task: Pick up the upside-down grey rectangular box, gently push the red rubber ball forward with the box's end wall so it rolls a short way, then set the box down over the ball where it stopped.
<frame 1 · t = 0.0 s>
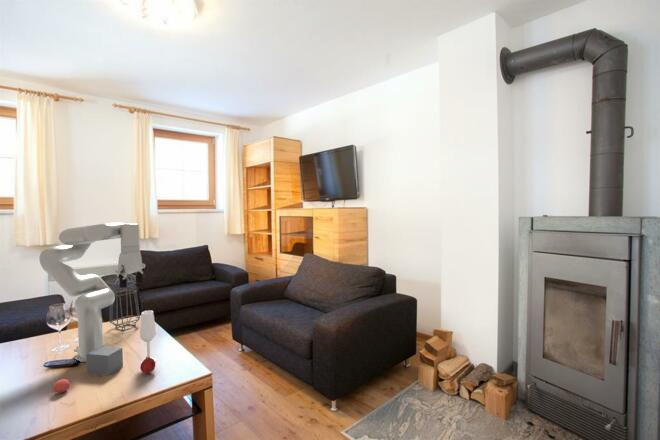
hand: (131, 284, 151), 37 cm above the table, tool pointing down, fingers open, 9 cm apart
ball: (61, 386, 126), on the table
geometric lantern: (124, 327, 194), on the table
grey rectangular box: (105, 369, 144), on the table
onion: (148, 374, 140), on the table
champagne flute: (148, 361, 151), on the table
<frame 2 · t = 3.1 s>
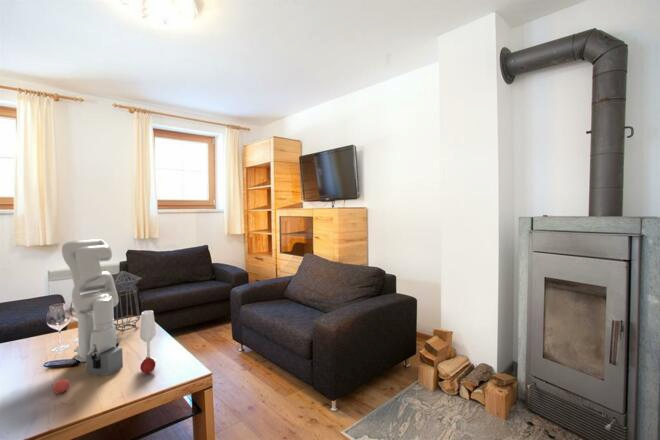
hand: (105, 363, 144), 3 cm above the table, tool pointing down, fingers closed on grey rectangular box, 7 cm apart
grey rectangular box: (105, 369, 144), on the table, touching gripper
everything else where it was.
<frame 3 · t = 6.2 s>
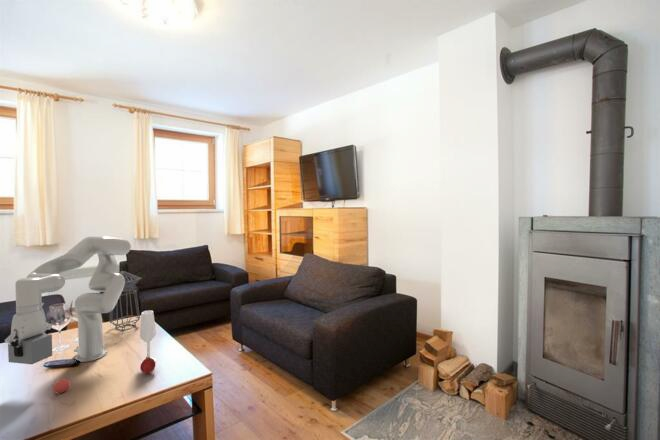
hand: (30, 351, 128), 16 cm above the table, tool pointing down, fingers closed on grey rectangular box, 7 cm apart
grey rectangular box: (30, 358, 128), point 13 cm above the table, touching gripper
everything else where it was.
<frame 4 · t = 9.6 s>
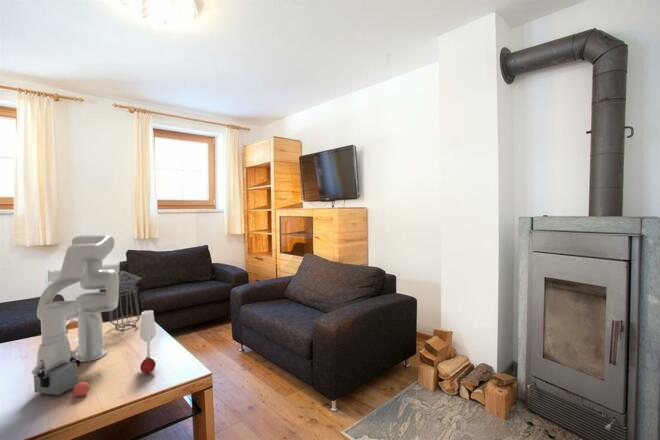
hand: (56, 380, 127), 4 cm above the table, tool pointing down, fingers closed on grey rectangular box, 7 cm apart
ball: (81, 389, 124), on the table
grey rectangular box: (56, 388, 127), point 1 cm above the table, touching gripper
everything else where it was.
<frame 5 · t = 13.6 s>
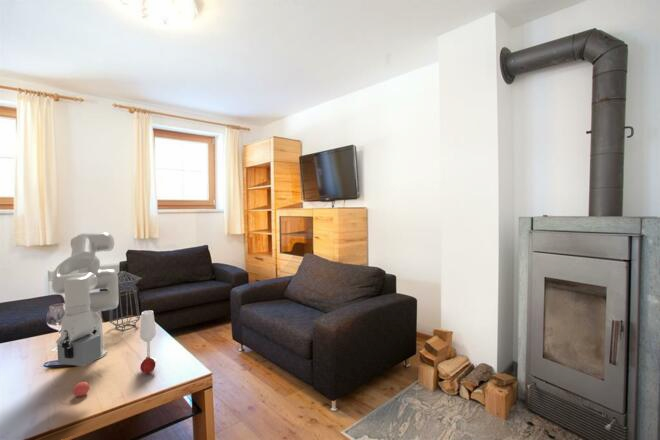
hand: (79, 352, 124), 17 cm above the table, tool pointing down, fingers closed on grey rectangular box, 7 cm apart
grey rectangular box: (79, 360, 124), point 14 cm above the table, touching gripper
everything else where it was.
when the fingers open (3 cm above the table, at t = 17.4 s): grey rectangular box stays where it is, on the table.
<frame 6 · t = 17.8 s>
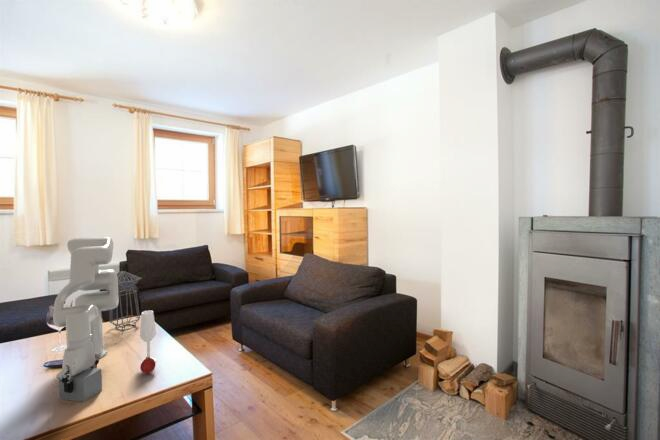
hand: (80, 385, 125), 4 cm above the table, tool pointing down, fingers open, 9 cm apart
grey rectangular box: (81, 394, 125), on the table
everything else where it was.
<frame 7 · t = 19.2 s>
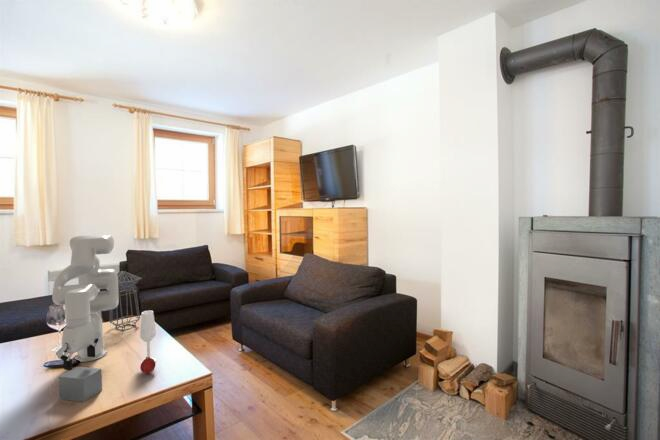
hand: (80, 362, 125), 12 cm above the table, tool pointing down, fingers open, 9 cm apart
nothing on the table moved.
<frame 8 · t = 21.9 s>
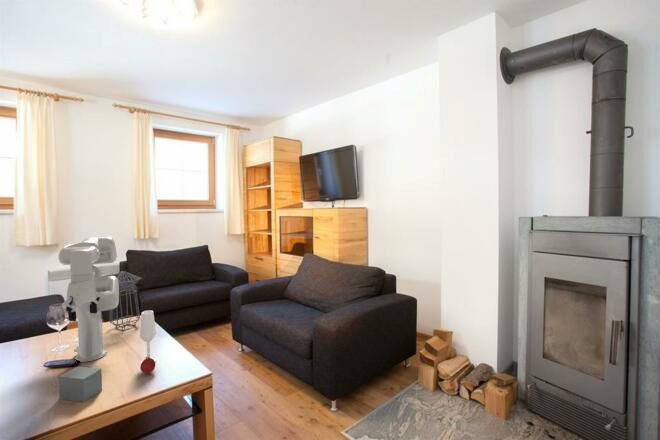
hand: (83, 316, 138), 26 cm above the table, tool pointing down, fingers open, 9 cm apart
nothing on the table moved.
at the end: ball 0.9 cm from the grey rectangular box (horizontally); grey rectangular box on the table; ball moved 9.8 cm from its start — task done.
